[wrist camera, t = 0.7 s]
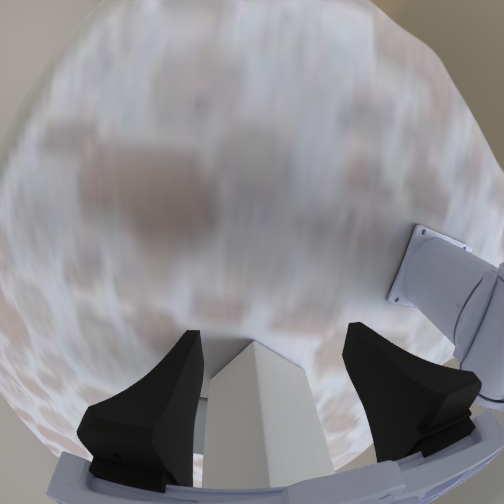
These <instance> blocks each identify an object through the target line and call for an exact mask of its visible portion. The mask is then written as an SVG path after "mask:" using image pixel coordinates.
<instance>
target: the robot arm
mask: <svg viewBox="0 0 504 504" xmlns="http://www.w3.org/2000/svg"><path fill="white" fill-rule="evenodd" d="M422 230H423V233H422ZM396 298H397V299H396ZM395 299H396V300H395ZM388 302H389V303H391V304H397V305H403V306H409V307H415V308H418V309H419V310H420V311H421V312H422V313H423V314H424V315H425V316H426V317H427V318H428V319H429V320H430V321H431V322H432V323H433V324H434V325H435V326H436V327H437V328H438V329H439V330H440V331H441V332H442V333H443V334H444V335H445V336H446V337H447V338H448V339H449V340H450V341H451V342H452V343H453V344H454V345H455V350H454V353H453V356H454V357H455V358H456V359H457V360H458V361H459V363H460V364H459V365H458V368H457V369H453V368H449V367H445V366H441V365H438V364H435V363H432V362H429V361H426V360H424V359H421V358H419V357H417V356H415V355H413V354H411V353H409V352H407V351H405V350H403V349H401V348H400V347H398V346H396V345H395V344H393V343H391V342H390V341H388V340H387V339H385V338H384V337H382V336H381V335H379V334H378V333H376V332H375V331H373V330H372V329H370V328H369V327H367V326H366V325H364V324H363V323H361V322H355V323H349V325H348V330H347V335H346V339H345V344H344V348H343V353H342V356H343V360H344V363H345V366H346V369H347V372H348V374H349V376H350V379H351V381H352V383H353V385H354V387H355V389H356V391H357V393H358V396H359V398H360V400H361V402H362V404H363V407H364V409H365V412H366V416H367V419H368V422H369V426H370V429H371V433H372V437H373V442H374V447H375V451H376V457H377V463H376V464H372V465H369V466H366V467H362V468H358V469H354V470H350V471H346V472H342V473H338V474H333V475H328V476H322V477H317V478H313V479H308V480H304V481H300V482H298V483H295V484H293V485H290V486H283V487H272V488H257V489H210V488H195V487H193V443H194V426H195V418H196V412H197V407H198V402H199V397H200V392H201V387H202V382H203V371H204V359H203V352H202V345H201V337H200V330H187V331H186V332H185V333H184V334H183V335H182V337H181V338H180V339H179V341H178V342H177V343H176V344H175V346H174V347H173V348H172V349H171V350H170V352H169V353H168V354H167V355H166V356H165V357H164V358H163V359H162V360H161V361H160V362H159V364H158V365H157V366H156V367H155V368H154V369H152V370H151V371H150V372H149V373H148V374H147V375H146V376H144V377H143V378H142V379H141V380H139V381H138V382H136V383H135V384H133V385H132V386H130V387H129V388H127V389H126V390H124V391H122V392H121V393H119V394H117V395H115V396H113V397H111V398H109V399H107V400H105V401H102V402H100V403H97V404H94V405H92V406H89V407H88V409H87V410H86V412H85V414H84V416H83V418H82V421H81V423H80V425H79V427H78V430H77V436H78V438H79V439H80V441H81V442H82V444H83V445H84V446H85V447H86V448H87V450H88V451H89V452H90V453H91V454H92V455H93V460H92V463H91V462H90V461H88V460H86V459H84V458H82V457H79V456H76V455H73V454H70V453H67V452H65V451H63V452H62V454H61V456H60V458H59V461H58V463H57V466H56V468H55V471H54V473H53V476H52V479H51V481H50V484H49V487H48V490H47V492H46V494H47V496H49V497H50V498H51V499H53V500H54V501H56V502H57V503H59V504H427V503H429V502H431V501H433V500H434V499H436V498H438V497H440V496H441V495H443V494H445V493H446V492H448V491H450V490H451V489H453V488H454V487H456V486H458V485H459V484H461V483H462V482H464V481H465V480H467V479H468V478H469V477H471V476H472V475H474V474H475V473H477V472H478V471H480V470H481V469H482V468H484V467H485V466H486V465H487V464H488V463H489V462H490V461H491V460H492V459H493V458H494V457H495V456H496V455H497V454H498V453H499V452H500V451H501V450H502V449H503V448H504V427H503V426H502V424H501V423H500V422H499V420H498V419H497V418H496V416H495V415H494V414H493V412H492V411H491V409H488V410H486V411H485V412H483V413H482V414H480V415H478V416H477V417H475V418H474V419H473V420H471V419H470V418H469V417H470V416H471V411H470V410H469V408H470V406H471V405H472V403H473V402H474V403H476V404H478V405H480V406H483V407H488V408H494V409H497V410H500V411H502V412H504V262H503V263H501V264H500V266H499V269H498V268H496V267H495V266H493V265H491V264H490V263H488V262H486V261H484V260H482V259H481V258H479V257H477V256H475V255H473V254H472V253H471V247H470V246H468V245H466V244H464V243H462V242H459V241H457V240H455V239H453V238H450V237H448V236H446V235H443V234H441V233H439V232H436V231H434V230H432V229H429V228H427V227H424V226H422V225H416V226H415V228H414V231H413V234H412V237H411V240H410V243H409V246H408V249H407V251H406V254H405V257H404V259H403V262H402V264H401V267H400V270H399V272H398V275H397V277H396V279H395V282H394V284H393V287H392V289H391V291H390V293H389V296H388Z"/></svg>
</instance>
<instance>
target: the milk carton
mask: <svg viewBox="0 0 504 504" xmlns="http://www.w3.org/2000/svg"><path fill="white" fill-rule="evenodd" d="M333 474H336V473H335V470H334V466H333V463H332V460H331V456H330V453H329V449H328V446H327V442H326V439H325V436H324V432H323V429H322V426H321V422H320V419H319V415H318V412H317V409H316V405H315V402H314V399H313V396H312V392H311V389H310V386H309V382H308V379H307V376H306V373H305V371H304V370H303V369H302V368H300V367H298V366H296V365H295V364H293V363H291V362H290V361H288V360H286V359H284V358H283V357H281V356H279V355H278V354H276V353H274V352H273V351H271V350H269V349H268V348H266V347H265V346H263V345H261V344H260V343H258V342H256V341H253V342H251V343H250V344H249V345H248V346H247V347H246V348H245V349H244V350H243V351H242V352H241V353H240V354H238V355H237V356H236V357H235V358H234V359H233V360H232V361H231V362H230V363H229V364H227V365H226V366H225V367H224V368H223V369H222V370H221V371H220V372H218V373H217V374H216V375H215V376H214V377H213V378H212V379H210V380H209V390H208V402H207V414H206V427H205V441H204V457H203V474H202V488H210V489H257V488H272V487H283V486H290V485H293V484H295V483H298V482H300V481H304V480H308V479H313V478H317V477H322V476H328V475H333Z"/></svg>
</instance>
